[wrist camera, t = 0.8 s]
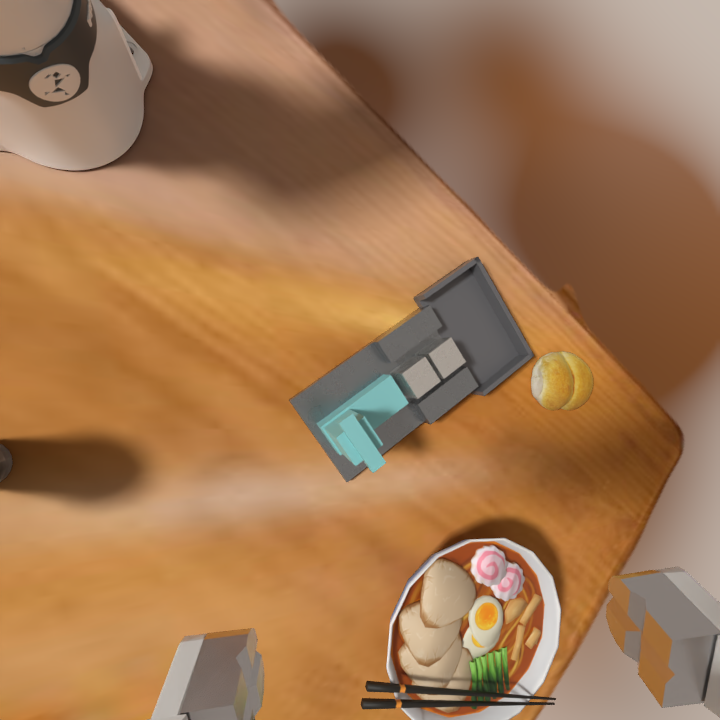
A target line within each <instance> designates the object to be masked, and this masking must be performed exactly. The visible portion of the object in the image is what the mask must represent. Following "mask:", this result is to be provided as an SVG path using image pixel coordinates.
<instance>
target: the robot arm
mask: <svg viewBox="0 0 720 720" xmlns="http://www.w3.org/2000/svg"><path fill="white" fill-rule="evenodd" d="M131 52H133V53H134V54H133V55H132V53H131ZM152 72H153V65H152V62H151V60H150V58H149V56H148V55H147V53H146V52H145V51H144V50H143V49H142V48H141V47H140V46H139V45H138V44H137V42H136V41H135V40H134V39H133V38H132V37H131V36H130V35H129V34H128V33H127V32H126V31H125V30H124V28H123V27H122V26H121V25H120V24H119V22H118V20H117V18H116V16H115V14H114V13H113V11H112V10H111V9H110V8H105V6H104V5H103V4H102V3H101V1H100V0H0V151H9V152H12V153H15V154H18V155H20V156H22V157H24V158H27V159H29V160H31V161H33V162H36V163H38V164H41V165H44V166H47V167H51V168H56V169H62V170H86V169H92V168H96V167H100V166H103V165H106V164H108V163H110V162H112V161H114V160H115V159H117V158H119V157H120V156H121V155H123V154H124V153H125V152H126V151H127V150H128V149H129V148H130V147H131V145H132V144H133V143H134V141H135V140H136V138H137V136H138V134H139V132H140V129H141V126H142V122H143V116H144V90H145V88H146V86H147V84H148V82H149V80H150V78H151V75H152ZM608 590H609V592H610V593H611V594H612V595H613V598H612V599H611V600H610V602H609V603H608V604H607V611H606V612H607V613H606V618H607V621H608V625H609V628H610V631H611V633H612V635H613V637H614V639H615V641H616V643H617V644H618V646H619V647H620V649H621V650H622V651H623V653H624V654H626V655H627V656H629V657H630V658H632V659H633V660H635V661H637V662H638V675H639V676H640V677H641V679H642V680H643V682H644V683H645V684H646V686H647V687H648V689H649V690H650V692H651V693H652V694H653V695H654V697H655V698H656V700H657V701H658V703H659V704H660V706H661V707H662V708H665V707H673V706H682V705H689V704H698V703H704V706H705V707H707V708H708V709H709V710H711V711H712V712H713V713H714V714H716V715H717V716H718V717H720V602H719V601H717V600H716V599H715V598H714V597H713V596H712V595H711V594H710V593H709V592H708V591H707V590H706V589H705V588H704V587H702V586H701V585H700V584H699V583H698V582H697V581H696V580H695V579H694V578H693V577H692V576H691V575H690V574H689V573H688V572H686V571H685V570H683V569H682V568H680V567H672V568H665V569H658V570H649V571H644V572H637V573H631V574H624V575H618V576H612V578H611V579H610V580H609V585H608ZM257 640H258V639H257V636H256V632H255V629H253V628H250V629H241V630H232V631H223V632H214V633H208V634H199V635H191V636H185V637H184V638H183V640H182V641H181V642H180V644H179V646H178V649H177V651H176V654H175V656H174V659H173V662H172V664H171V667H170V670H169V672H168V675H167V678H166V680H165V683H164V685H163V688H162V691H161V693H160V696H159V699H158V701H157V704H156V707H155V709H154V712H153V714H152V717H151V719H148V720H255V715H256V714H257V712H258V711H259V710H260V708H261V707H262V700H263V693H264V667H263V660H262V656H261V654H259V653H258V652H257V651H256V646H257Z"/></svg>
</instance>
